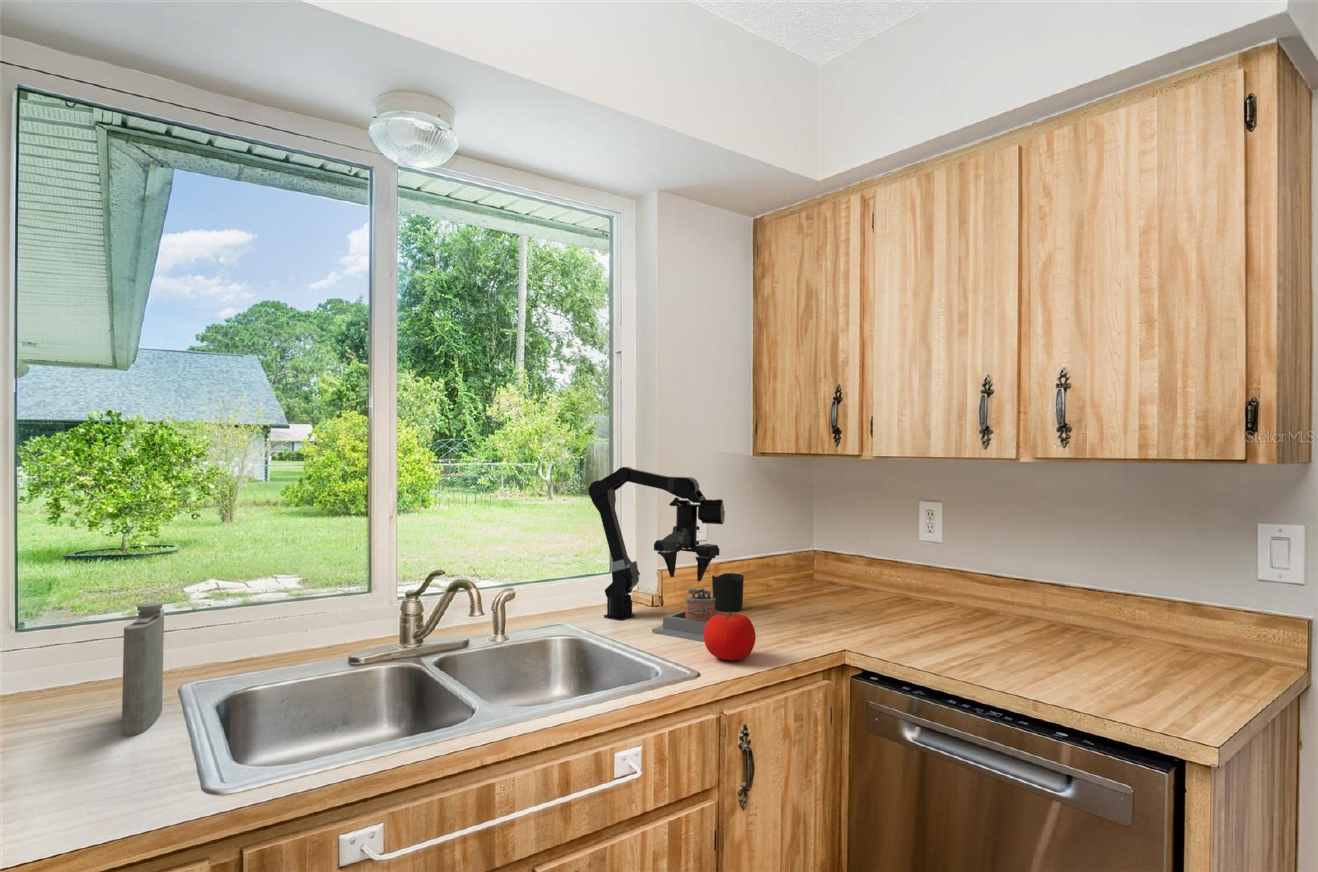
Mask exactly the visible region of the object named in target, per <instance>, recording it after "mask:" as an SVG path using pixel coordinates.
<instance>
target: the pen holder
mask: <svg viewBox="0 0 1318 872" xmlns="http://www.w3.org/2000/svg"><path fill="white" fill-rule="evenodd" d="M711 580H712V581H711V584H712V586H711V587H712V598H716V601H715V611H720V612H728V613H729V612H731V613H737V612H741V611H742V610H743V605H744V604H743V603H744V575H743V574H740V573H732V572H725V573H722V574H720V575H718V576H715V575H713V574H712V575H711Z"/></svg>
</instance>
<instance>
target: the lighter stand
mask: <svg viewBox="0 0 1318 872" xmlns="http://www.w3.org/2000/svg"><path fill="white" fill-rule="evenodd" d="M720 613H726V612H721V611H717V610H715V615H716V614H720ZM706 624H707V622H703V621H697V620H690V619H685V609H683V610H680V611H679V610H678V611H677V612H674V613H670V614H667V615H664V616H663V617H662V625H660V626H657V627H656V626H655V627H654V628H652V629H651V632H652V634H657V635H658V634H659V635H662V636H663V635H664V636H669V637H673V638H674V637H675V638H681V639H686V640H692V641H696V642H697V641H698V642H703V643H705V642H704V635H703V634H704V628H705V626H706Z"/></svg>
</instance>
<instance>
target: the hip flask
mask: <svg viewBox="0 0 1318 872" xmlns="http://www.w3.org/2000/svg"><path fill="white" fill-rule="evenodd" d="M136 607H137V608H136V609H137V611H138V613H137V614H138V616H137V617H138V618H137V619H136V620H135V621H133V622H132V623H131V624H129V625H126V626H124V627H123V655H122V656H123V657H122V659H123V660H122V662H123V663H122V664H123V665H122V667H123V668H122V697H121V698H122V702H121V703H122V704H121V707H122V708H121V709H122V710H121V736H123V737H133V736H138V735H140V734H141V735H142V734H144V733H145V732H146V731H147V730H148V729H150V728H151V727H152V726H154V724H155V723H156V722H157V721H158V719H159V718H160V716H161V714H162V711H163V690H164V689H163V688H164V686H163V685H164V684H163V683H164V682H163V681H164V676H163V675H164V637H165V635H164V633H165V626H164V625H165V610H164V609H163V602H146V603H141V604H140V603H139V604H138V605H137V606H136Z"/></svg>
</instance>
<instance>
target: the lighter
mask: <svg viewBox="0 0 1318 872" xmlns="http://www.w3.org/2000/svg"><path fill="white" fill-rule="evenodd" d="M686 593H687V595H691V596H686V597H684V602H685V608H684V610H685V619H690V620H697V621H703V622H708V621H709V619H710V618H711V617H713V616H714V615H715V611H716V610H715V601H716V598H713V596H712V590H711V589H704V587H700V588H698V589H697V588H688V589H687V592H686Z"/></svg>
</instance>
